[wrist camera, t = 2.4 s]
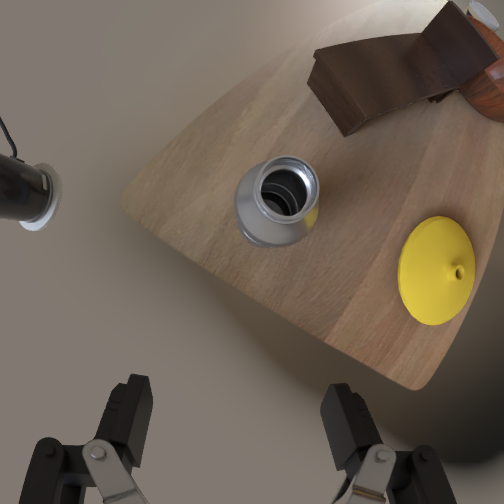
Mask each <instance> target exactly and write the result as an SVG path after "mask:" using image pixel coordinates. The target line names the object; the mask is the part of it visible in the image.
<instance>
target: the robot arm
mask: <svg viewBox="0 0 504 504" xmlns="http://www.w3.org/2000/svg"><path fill="white" fill-rule="evenodd" d="M0 126H1V127H2V130H3V131H4V134H5V136H6V138H7V140H8V142H9V144H10V145H11V147H12V150H13V156H10V157H7V156H4V155H2V154H0V218H1V219H8V220H16V221H24V222H27V223H36V222H38V221H39V220H41V219H42V218H43V217H44V216H45V214H46V213H47V211H48V209H49V207H50V205H51V201H52V197H53V182H52V179H51V177H50V175H49V174H48V173H47V172H46V171H44V170H42V169H37V168H35V167H32V166H30V165H27V164H25V163H24V161H22V160H20V159H18V158H16V157H17V150H16V146H15V144H14V142H13V140H12V139H11V137H10V135H9V133H8V131H7V129H6V127H5V125H4V123H3V121H2V119H1V117H0ZM152 407H153V396H152V392H151V387H150V382H149V378H148V376H143V375H137V374H131V375H130V377H129V380H128V383H127V384H122V383H119V384H118V385H117V386H116V387H115V388H114V389H113V390H112V392H111V394H110V397H109V401H108V402H107V405H106V409H105V410H104V413H103V416H102V418H101V421H100V424H99V427H98V430H97V433H96V435H95V437H94V439H93V440H91V441H89V442H88V443H87V444H85V445H80V446H74V445H62V444H61V443H60V442H59V441H58V440H56V439H54V438H50V437H48V438H47V437H46V438H43V439H41V440H39V441H38V443H37V444H36V447H35V449H34V452H33V455H32V458H31V461H30V464H29V468H28V471H27V474H26V477H25V481H24V485H23V489H22V492H21V496H20V500H19V504H84V498H85V492H86V487H97V488H98V490H99V492H100V494H101V496H102V498H103V504H149V502H148V501H147V500H146V498H145V497H144V495H143V494H142V492H141V491H140V489H139V487H138V486H137V484H136V483H135V481H134V479H133V478H132V476H131V472H132V467H138V468H140V464H141V459H142V454H143V449H144V444H145V439H146V435H147V430H148V426H149V421H150V417H151V412H152ZM320 412H321V417H322V421H323V424H324V428H325V431H326V434H327V438H328V441H329V445H330V448H331V452H332V455H333V459H334V462H335V466H336V469H337V471H340V470H345V471H346V475H345V477H344V479H343V481H342V483H341V484H340V486H339V488H338V490H337V492H336V494H335V496H334V497H333V499H332V501H331V503H330V504H385V502H386V498H384V497H383V495H384V492H385V490H386V492H387V496H388V499H389V503H390V504H457V503H456V500H455V497H454V494H453V492H452V489H451V487H450V484H449V482H448V479H447V477H446V475H445V472H444V469H443V467H442V465H441V462H440V460H439V458H438V455H437V453H436V451H435V450H434V449H433V448H432V447H430V446H428V445H420V446H418V447H416V448H415V449H414V450H413V451H394V450H393V448H391V447H390V446H388V445H386V444H384V443H383V442H382V440H381V438H380V435H379V433H378V431H377V428H376V426H375V424H374V421H373V419H372V417H371V414H370V412H369V411H368V408H367V405H366V403H365V401H364V399H363V398H362V397H361V396H360V395H359V394H358V393H352V392H351V390H350V387H349V385H348V384H347V383H338V384H330V386H329V388H328V390H327V392H326V394H325V397H324V399H323V401H322V403H321V409H320Z"/></svg>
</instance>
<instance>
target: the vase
mask: <svg viewBox="0 0 504 504" xmlns="http://www.w3.org/2000/svg"><path fill="white" fill-rule="evenodd" d="M397 277H398V285H399V292H400V295H401V297H402V300H403V303H404V305H405V306H406V308H407V309H408V311H409V312H410V313H411V315H412V316H413V317H414V318H416V319H417V320H418V321H419V322H421V323H424V324H427V325H440V324H442V323H445V322H447V321H449V320H450V319H452V318H453V317H454V316H455V315H456V314H457V313H458V312H459V311H460V310H461V309H462V307H463V306H464V305H465V303H466V302H467V300H468V298H469V295H470V293H471V291H472V287H473V283H474V279H475V256H474V251H473V248H472V244H471V242H470V240H469V238H468V236H467V234H466V233H465V231H464V230H463V229H462V228H461V227H460V225H459V224H458V223H457V222H455V221H453V220H452V219H450V218H448V217H442V216H436V217H431V218H428V219H427V220H425V221H423V222H422V223H420V224H419V225H418V226H417V227H416V228H415V229H414V230H413V231H412V232H411V234H410V235H409V236H408V238H407V240H406V242H405V244H404V246H403V248H402V251H401V255H400V258H399V262H398V275H397Z"/></svg>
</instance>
